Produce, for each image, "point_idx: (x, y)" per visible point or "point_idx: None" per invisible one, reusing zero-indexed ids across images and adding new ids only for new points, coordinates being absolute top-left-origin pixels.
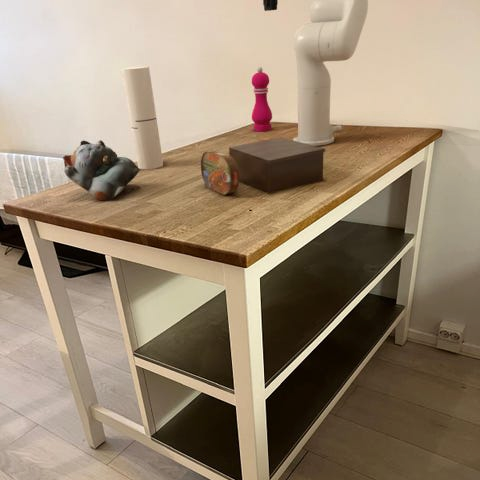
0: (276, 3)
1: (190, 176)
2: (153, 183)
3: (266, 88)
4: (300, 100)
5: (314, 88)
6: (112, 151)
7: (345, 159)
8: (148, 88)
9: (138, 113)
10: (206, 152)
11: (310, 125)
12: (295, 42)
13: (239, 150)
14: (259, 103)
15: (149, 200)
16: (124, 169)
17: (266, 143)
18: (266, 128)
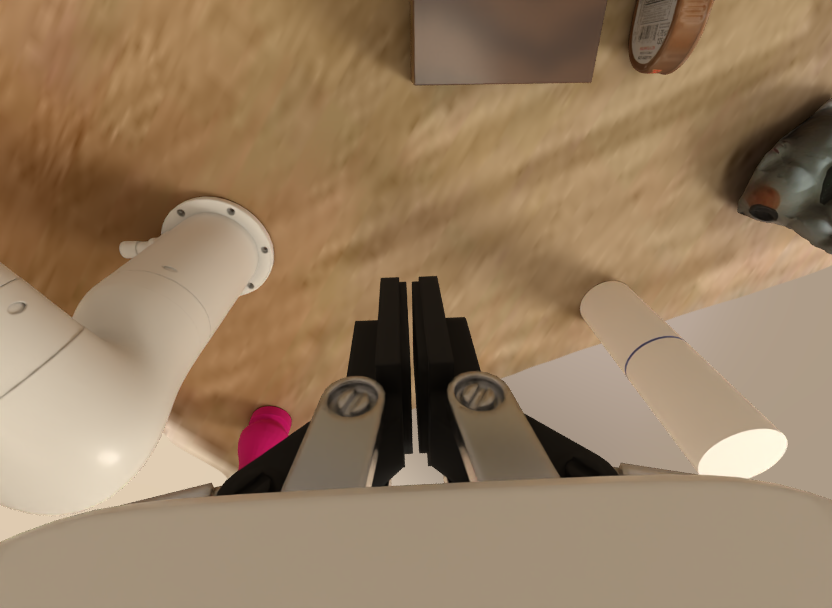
0: (384, 295)
1: (610, 166)
2: (693, 170)
3: None
4: (222, 300)
5: (169, 280)
6: (816, 217)
7: (228, 6)
8: (698, 390)
9: (696, 352)
10: (696, 34)
11: (226, 240)
12: (152, 435)
13: (603, 9)
14: None
15: (797, 36)
16: (829, 133)
17: (494, 34)
18: (268, 409)
